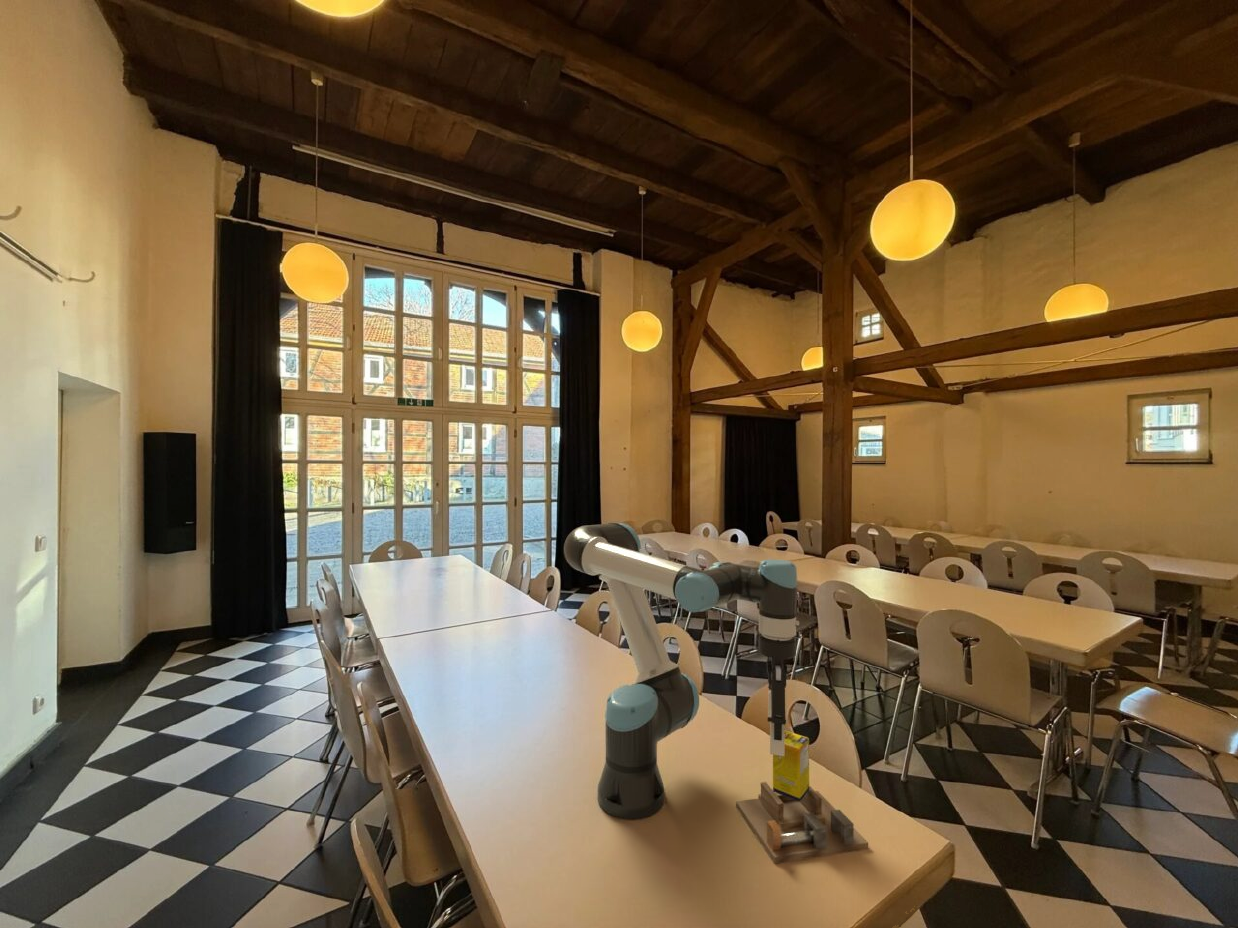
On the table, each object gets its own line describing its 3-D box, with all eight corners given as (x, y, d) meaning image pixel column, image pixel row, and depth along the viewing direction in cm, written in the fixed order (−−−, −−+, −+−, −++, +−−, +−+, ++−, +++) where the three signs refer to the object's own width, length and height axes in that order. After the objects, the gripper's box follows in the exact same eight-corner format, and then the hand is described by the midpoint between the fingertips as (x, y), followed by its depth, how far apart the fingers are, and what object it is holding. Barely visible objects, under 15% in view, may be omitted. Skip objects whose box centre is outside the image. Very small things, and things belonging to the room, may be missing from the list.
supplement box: (782, 778, 114) (782, 728, 114) (810, 789, 110) (809, 737, 110) (771, 791, 109) (771, 739, 110) (799, 802, 106) (799, 748, 106)
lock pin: (773, 850, 98) (773, 829, 98) (766, 841, 100) (766, 821, 100) (827, 842, 100) (827, 821, 100) (820, 833, 102) (820, 813, 103)
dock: (774, 863, 96) (774, 832, 97) (735, 806, 113) (736, 780, 113) (868, 848, 100) (868, 819, 101) (817, 795, 117) (817, 770, 117)
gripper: (801, 657, 95) (799, 773, 94) (791, 620, 119) (790, 712, 118) (759, 652, 96) (757, 766, 96) (758, 617, 121) (756, 708, 120)
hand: (775, 737), depth 107 cm, fingers open, 13 cm apart
